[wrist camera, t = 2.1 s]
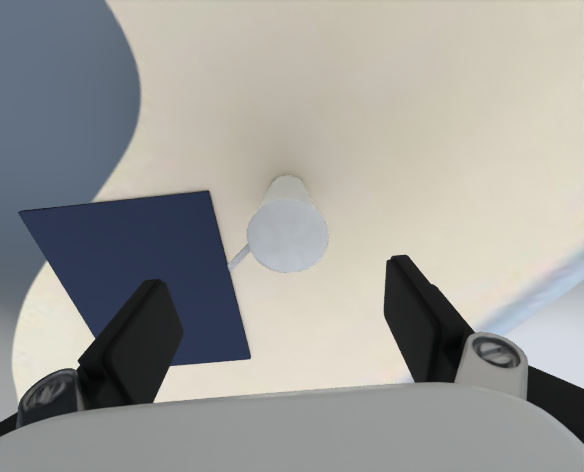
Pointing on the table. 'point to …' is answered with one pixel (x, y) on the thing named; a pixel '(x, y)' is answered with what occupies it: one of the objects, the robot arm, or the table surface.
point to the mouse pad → (147, 265)
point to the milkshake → (285, 229)
